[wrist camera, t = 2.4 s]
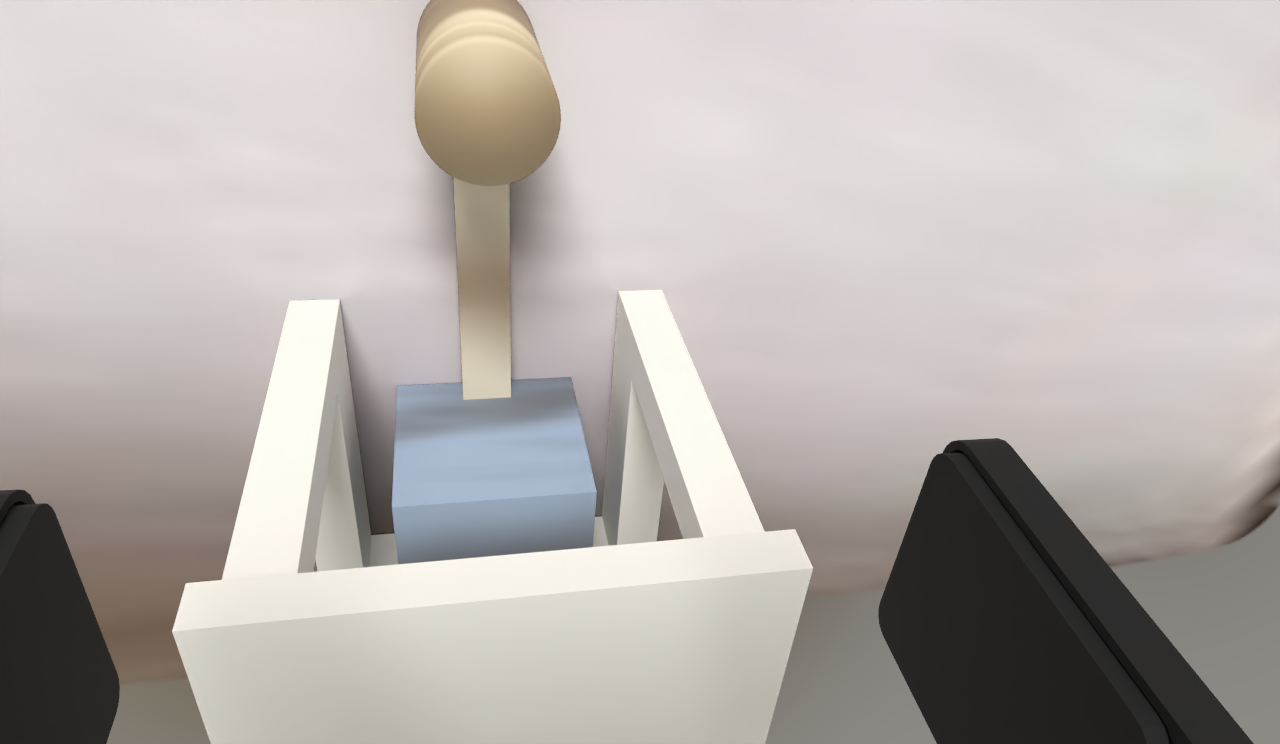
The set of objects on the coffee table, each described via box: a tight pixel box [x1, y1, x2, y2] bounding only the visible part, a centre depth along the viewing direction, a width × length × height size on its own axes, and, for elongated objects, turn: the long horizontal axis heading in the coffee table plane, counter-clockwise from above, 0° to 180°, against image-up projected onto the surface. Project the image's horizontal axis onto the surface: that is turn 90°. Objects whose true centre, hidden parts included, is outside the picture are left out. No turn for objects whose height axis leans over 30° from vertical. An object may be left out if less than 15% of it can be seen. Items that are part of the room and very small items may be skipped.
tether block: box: [392, 0, 597, 564], centre depth 27 cm, size 19×6×6 cm, turn 176°
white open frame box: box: [172, 290, 813, 744], centre depth 27 cm, size 13×13×13 cm
